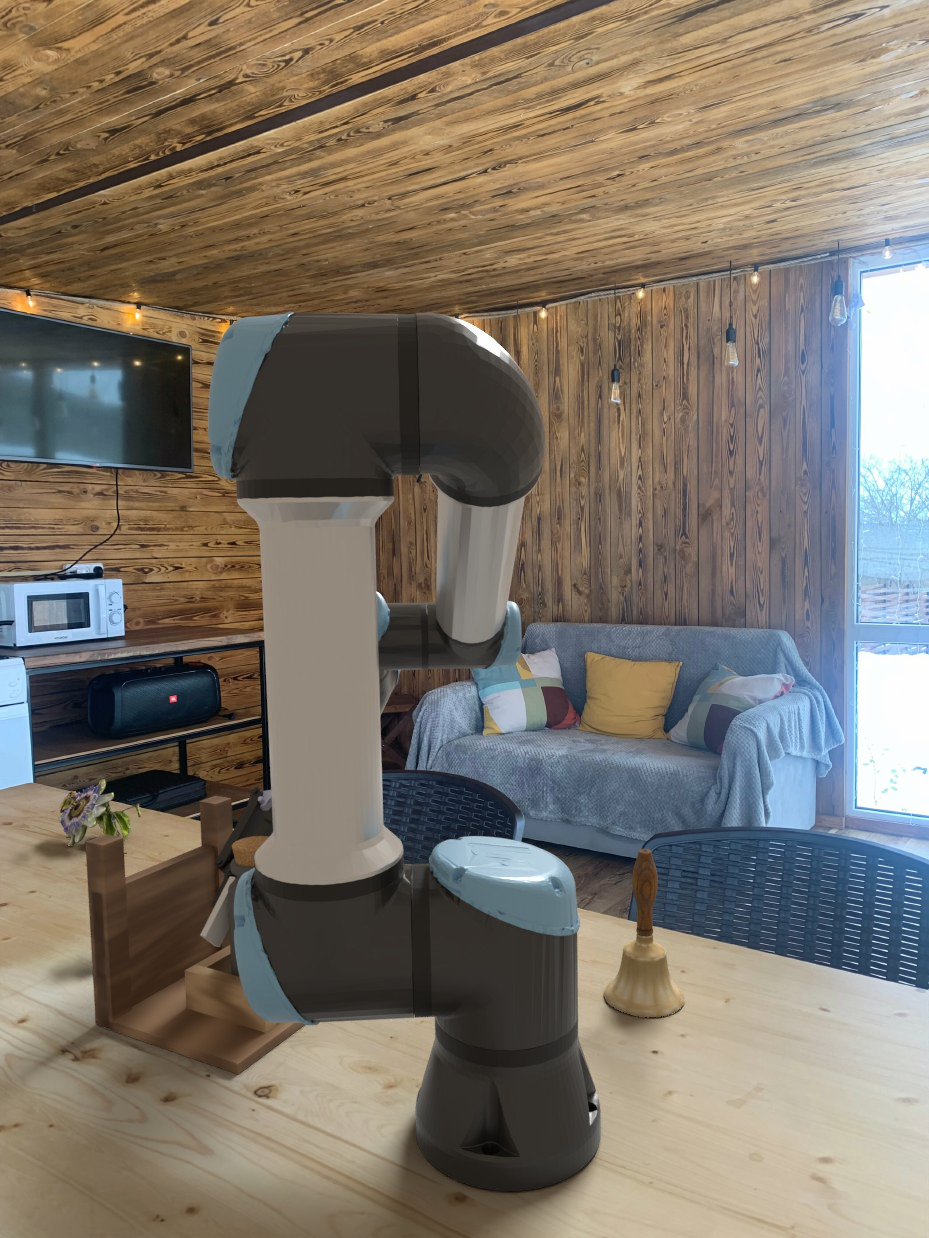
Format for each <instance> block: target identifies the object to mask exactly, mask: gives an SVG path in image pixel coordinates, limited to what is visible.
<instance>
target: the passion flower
mask: <svg viewBox="0 0 929 1238" xmlns="http://www.w3.org/2000/svg"><path fill="white" fill-rule="evenodd" d="M106 785H107V780H106V779H104V778H103V779H101V780H100V781H99V782H98V784H97V785H96V786H94V784H92V785H90V786H89V787H86V788H85V789H82V792H80V791H78V792H77V794H76V790H75V791H74V790H71V791H69V793H68V794H67V795H66V796H65V797H64V799H63V800H62V802H61V804H59V809H60V811H59V813H60V814H61V815H59V817H58V820H59V821H60V824H61V827H63V832H64V833H65V834H66V835H65V838H66V839H69V841H68V843H67V844H66V846H67V845H73V846H74V845H75V844H79V843H81V842H82V841H83V840H84V838H85V836H86V834H87V829H88V828H91V829H92V828H95V827H96V826H97V825H98V827H100V829H102V832H103V835H111V836H116V837H118V835H119V834H120V835H122V838H123V842H125V841H126V840H127V839H128V837H129V835H130V833H131V829H132V828H131V827H132V826H131V823H130V822H131V818H130V817H129V815H128V814H127V813H125V811H127V810H130V809H132V808H135V810H136V812H137V816H138V818H141V817H142V815H143V814H142V811H141V807H140V803H137V804H136V805H135V804H134V805H132V806H130V807H127V808H125V809H122V810H115V811H112V810H111V806H110V802H111V801H112V800H113V799H114V797H115V794H114V792H110V793H105V794H103V793H104V790H105V789H106ZM117 824H118V825H119V829H120V832H121V833H120V832H119V830H118V827H117Z"/></svg>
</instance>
